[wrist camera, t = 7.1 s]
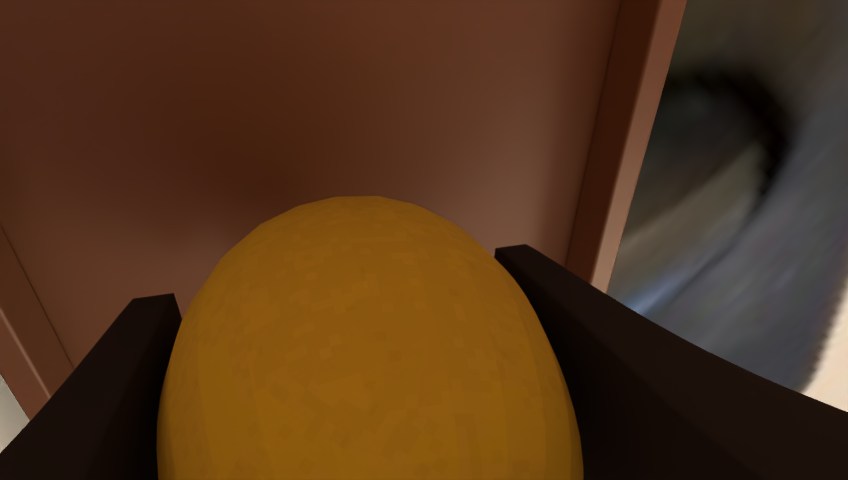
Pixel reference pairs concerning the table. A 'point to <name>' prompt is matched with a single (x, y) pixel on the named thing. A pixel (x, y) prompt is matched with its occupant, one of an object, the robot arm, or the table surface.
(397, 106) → the tray
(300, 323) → the lemon
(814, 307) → the table surface
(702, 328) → the table surface
